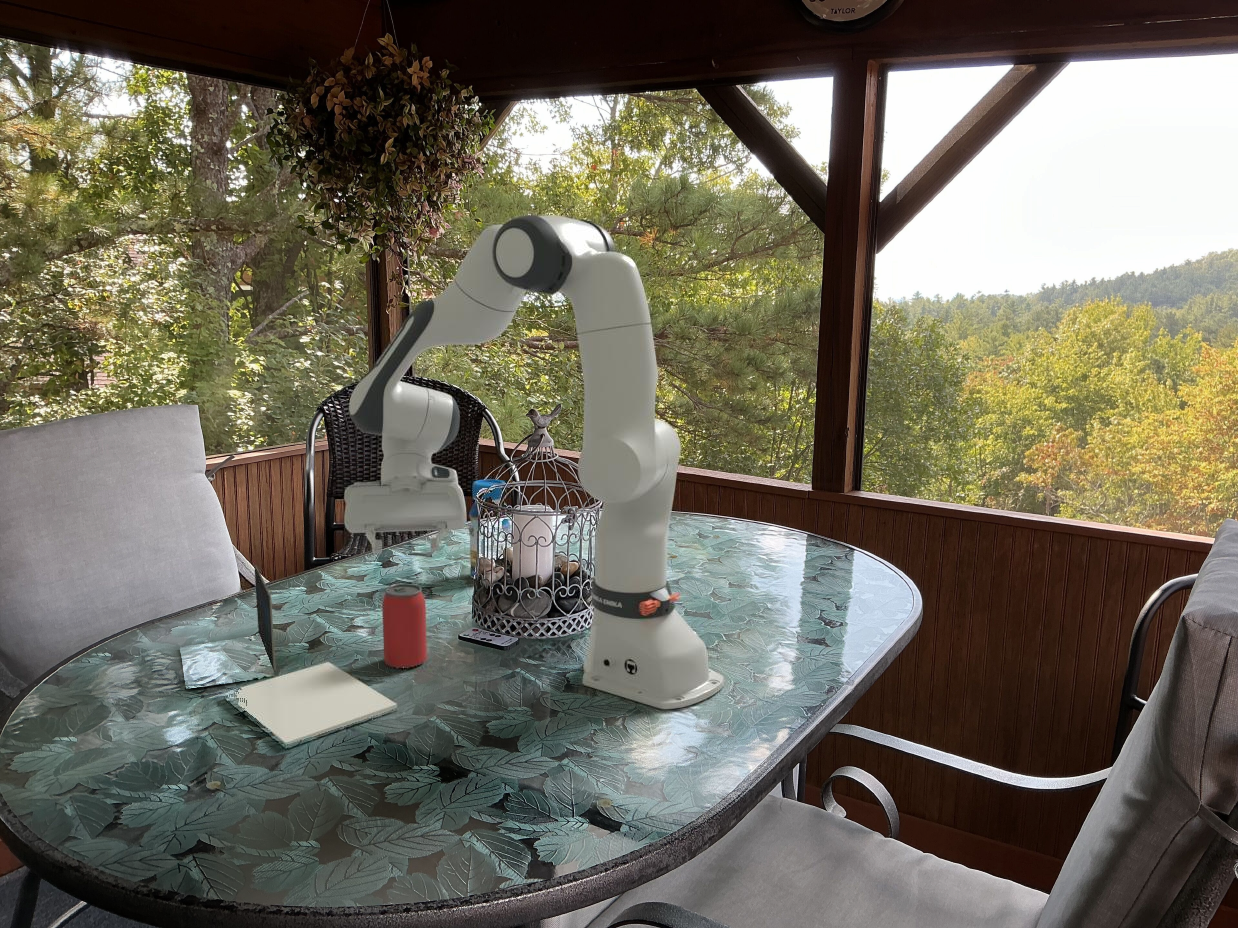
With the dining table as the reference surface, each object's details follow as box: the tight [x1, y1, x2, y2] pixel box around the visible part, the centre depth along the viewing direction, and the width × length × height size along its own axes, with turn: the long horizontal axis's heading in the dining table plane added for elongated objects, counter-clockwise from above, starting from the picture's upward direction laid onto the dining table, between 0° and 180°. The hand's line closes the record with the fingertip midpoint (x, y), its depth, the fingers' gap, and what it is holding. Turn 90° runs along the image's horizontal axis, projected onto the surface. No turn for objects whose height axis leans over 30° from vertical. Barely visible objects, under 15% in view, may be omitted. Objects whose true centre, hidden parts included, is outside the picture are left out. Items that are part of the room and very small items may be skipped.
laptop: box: [254, 564, 277, 672], centre depth 140 cm, size 18×12×13 cm
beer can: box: [381, 583, 428, 669], centre depth 141 cm, size 7×7×12 cm
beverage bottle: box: [468, 478, 512, 579], centre depth 183 cm, size 8×8×20 cm
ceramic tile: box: [226, 661, 398, 745], centre depth 126 cm, size 20×16×1 cm
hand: (406, 550), depth 149 cm, fingers open, 8 cm apart
